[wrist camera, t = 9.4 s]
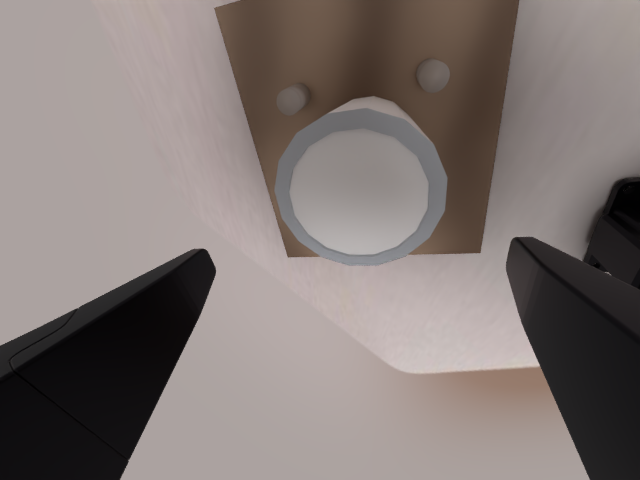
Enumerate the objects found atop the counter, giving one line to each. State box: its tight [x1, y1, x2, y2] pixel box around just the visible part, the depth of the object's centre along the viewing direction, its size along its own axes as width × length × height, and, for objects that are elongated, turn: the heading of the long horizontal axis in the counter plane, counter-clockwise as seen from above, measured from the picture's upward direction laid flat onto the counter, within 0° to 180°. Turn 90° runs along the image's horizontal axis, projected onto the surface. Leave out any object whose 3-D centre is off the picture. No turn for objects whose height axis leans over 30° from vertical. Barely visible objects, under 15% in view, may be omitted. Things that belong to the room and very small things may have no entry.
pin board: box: [214, 0, 519, 257], centre depth 17 cm, size 14×16×4 cm
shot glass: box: [274, 96, 448, 265], centre depth 14 cm, size 7×7×7 cm
